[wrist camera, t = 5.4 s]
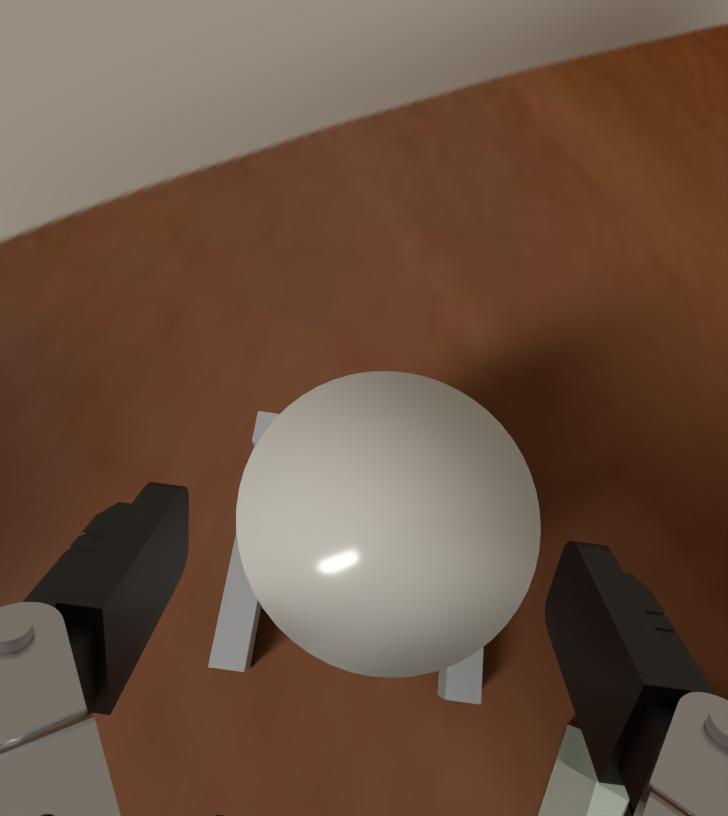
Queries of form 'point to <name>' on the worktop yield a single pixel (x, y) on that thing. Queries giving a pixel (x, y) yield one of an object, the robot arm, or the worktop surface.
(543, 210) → the worktop surface
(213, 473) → the worktop surface
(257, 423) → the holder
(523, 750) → the worktop surface
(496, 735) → the worktop surface
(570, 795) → the tray
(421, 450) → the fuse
